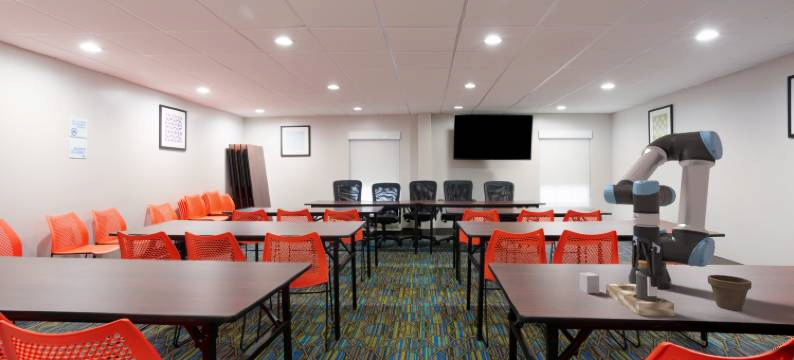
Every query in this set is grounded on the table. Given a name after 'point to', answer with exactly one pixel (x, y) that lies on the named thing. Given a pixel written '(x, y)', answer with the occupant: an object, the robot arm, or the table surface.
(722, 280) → the flower pot
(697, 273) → the table surface
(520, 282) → the table surface
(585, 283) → the square bit
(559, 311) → the table surface
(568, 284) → the table surface
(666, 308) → the bore block
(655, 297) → the bottle
